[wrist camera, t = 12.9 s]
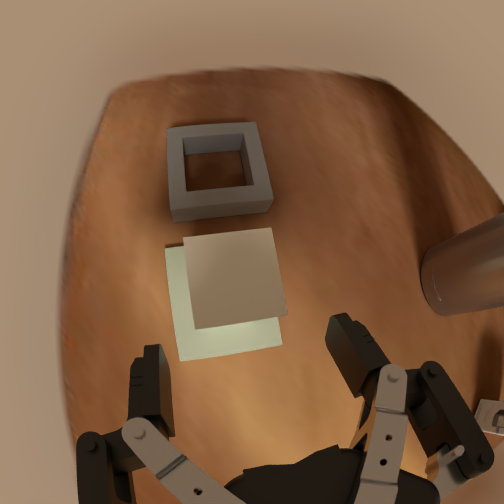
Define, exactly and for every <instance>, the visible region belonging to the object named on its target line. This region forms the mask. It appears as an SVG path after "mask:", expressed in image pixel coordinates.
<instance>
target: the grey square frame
mask: <svg viewBox="0 0 504 504" xmlns="http://www.w3.org/2000/svg"><path fill="white" fill-rule="evenodd" d="M239 150H240V153H241V159H242V164H243V169H244V174H245V180H246V185H247V186H238V187H227V188H217V189H207V190H198V191H189V192H187V191H186V180H185V167H184V155H190V154H200V153H211V152H224V151H239ZM167 163H168V186H169V203H170V212H171V215H172V219H173V222H174V223H175V222H183V221H191V220H199V219H208V218H216V217H225V216H235V215H244V214H254V213H264V212H267V211H268V209H269V207H270V206H271V204H272V202H273V200H274V197H273V192H272V188H271V184H270V179H269V175H268V170H267V166H266V162H265V158H264V153H263V149H262V145H261V141H260V137H259V133H258V129H257V125H256V122H238V123H218V124H205V125H193V126H183V127H174V128H167Z"/></svg>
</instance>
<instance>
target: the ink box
mask: <svg viewBox="0 0 504 504" xmlns="http://www.w3.org/2000/svg"><path fill="white" fill-rule="evenodd" d="M474 418H475V419H476V421H477V423H478V424H479V426H480V428H481V430H482V431H484V432H488V433H493V434H498V435H503V436H504V401H494V400H486V399H481V400H480V402H479V405H478V408H477V410H476V413H475V416H474Z"/></svg>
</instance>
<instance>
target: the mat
mask: <svg viewBox="0 0 504 504" xmlns="http://www.w3.org/2000/svg"><path fill="white" fill-rule="evenodd" d="M165 258H166V267H167V277H168V285H169V293H170V301H171V308H172V315H173V322H174V329H175V335H176V341H177V347H178V353H179V358H180V361H188V360H196V359H203V358H210V357H217V356H223V355H230V354H236V353H241V352H247V351H253V350H258V349H263V348H268V347H273V346H278V345H282V339H281V334H280V328H279V322H278V317H274V318H268V319H262V320H257V321H251V322H245V323H239V324H232V325H226V326H219V327H212V328H205V329H197V330H195V326H194V320H193V313H192V306H191V299H190V292H189V285H188V277H187V269H186V261H185V252H184V246H180V247H172V248H165Z"/></svg>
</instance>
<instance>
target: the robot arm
mask: <svg viewBox="0 0 504 504" xmlns="http://www.w3.org/2000/svg"><path fill="white" fill-rule="evenodd" d="M421 280H422V287H423V291H424V294H425V297H426V299H427V301H428V303H429V305H430V306H431V308H432V309H433V310H434V311H435V312H437V313H438V314H440V315H443V316H449V315H456V314H463V313H470V312H476V311H481V310H487V309H492V308H497V307H502V306H504V212H503V213H501V214H499V215H497V216H495V217H493V218H491V219H489V220H487V221H485V222H483V223H481V224H479V225H477V226H475V227H473V228H471V229H468V230H466V231H464V232H462V233H460V234H458V235H456V236H453V237H451V238H449V239H447V240H444V241H442V242H440V243H438V244H436V245H434V246H432V247H430V248H429V249H428V251H427V252H426V254H425V256H424V258H423V262H422V268H421ZM325 342H326V346H327V348H328V350H329V352H330V354H331V356H332V357H333V359H334V361H335V363H336V365H337V367H338V368H339V370H340V372H341V374H342V376H343V377H344V379H345V381H346V383H347V385H348V387H349V389H350V390H351V392H352V394H353V396H354V398H357V397H359V396H363V398H364V401H363V404H362V409H361V413H360V417H359V421H358V425H357V429H356V432H355V435H354V437H353V439H352V441H351V444H350V446H349V449H348V448H340V449H339V446H338V444H337V445H334V446H331V447H329V448H326V449H323V450H320V451H317V452H315V453H313V454H311V455H309V456H308V457H306V458H304V459H303V460H301V461H299V462H297V463H295V464H287V465H265V466H260V467H255V468H250V469H244V470H243V474H242V475H239V476H237V477H236V478H234V479H232V480H231V481H230V482H228V483H227V484H226V485H225V486H224V487H222V486H221V485H220V484H219V483H217V482H216V481H215V480H213V479H212V478H211V477H210V476H209V475H207V474H206V473H205V472H204V471H202V470H201V469H200V468H199V467H198V466H197V465H195V464H194V463H193V462H192V461H191V460H190V459H188V458H187V457H186V456H184V455H183V454H182V453H181V452H179V451H178V450H177V449H176V448H175V447H174V446H173V445H172V444H171V443H170V442H169V437H175V430H174V419H173V407H172V393H171V376H170V369H169V365H168V362H167V359H166V357H165V354H164V351H163V348H162V346H161V344H155V345H145V346H144V357H140V358H135V360H134V362H133V363H132V365H131V368H130V383H129V385H130V387H129V405H128V419H127V421H126V423H125V424H124V426H123V427H122V428H120V429H119V430H117V431H114V432H111V433H108V434H104V435H100V434H98V433H96V432H86V433H83V434H82V435H81V436H80V437H79V438H78V440H77V447H76V460H77V487H78V500H79V504H137V503H136V497H135V491H134V485H133V477H132V471H134V470H137V469H141V468H144V467H148V468H149V469H150V471H151V472H152V473H153V474H154V475H155V476H156V477H157V479H158V480H159V481H160V482H161V483H162V484H163V485H164V486H165V487H166V488H167V489H168V490H169V491H170V492H171V493H172V494H173V495H174V496H175V497H176V498H177V499H179V500H180V501H181V502H182V503H183V504H440V500H441V499H442V498H444V497H445V496H447V495H448V494H450V493H451V492H452V491H454V490H455V489H457V488H458V487H459V486H461V485H462V484H464V483H466V482H468V481H469V480H471V479H473V478H475V477H477V476H479V475H480V474H482V473H484V472H485V471H487V470H489V469H490V468H491V466H492V464H493V462H494V452H493V450H492V448H491V446H490V444H489V442H488V440H487V439H486V437H485V435H484V433H483V431H482V430H481V428H480V426H479V424H478V423H477V421H476V419H475V418H474V416H473V414H472V413H471V411H470V409H469V408H468V406H467V404H466V403H465V401H464V399H463V398H462V396H461V395H460V393H459V392H458V390H457V388H456V387H455V385H454V384H453V382H452V381H451V379H450V378H449V376H448V375H447V373H446V372H445V370H444V369H443V367H442V366H441V365H440V364H439V363H437V362H435V361H427V362H425V363H423V365H422V366H421V368H420V369H410V370H404V369H403V368H402V367H400V366H399V365H396V364H391V363H390V361H389V360H388V358H387V357H386V356H385V354H384V353H383V351H382V350H381V348H380V347H379V346H378V344H377V343H376V341H374V338H373V337H372V336H371V335H370V333H369V331H368V330H367V329H366V327H365V326H364V325H362V324H361V323H360V322H358V321H357V320H356V321H352V319H351V318H350V317H349V315H348V314H347V313H341V314H337V315H333V316H331V317H330V320H329V324H328V328H327V332H326V336H325ZM428 399H429V400H428ZM432 406H433V407H432ZM404 412H405V413H404ZM408 420H409V422H410V423H411V425H412V427H413V429H414V431H415V433H416V435H417V437H418V439H419V441H420V443H421V445H422V447H423V449H424V451H425V453H426V455H427V457H428V460H427V463H426V468H425V473H426V474H427V479H425V478H422V477H419V476H417V475H414V474H412V473H409V472H407V471H404V470H402V469H400V465H401V460H402V455H403V450H404V444H405V438H406V431H407V424H408Z"/></svg>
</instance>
